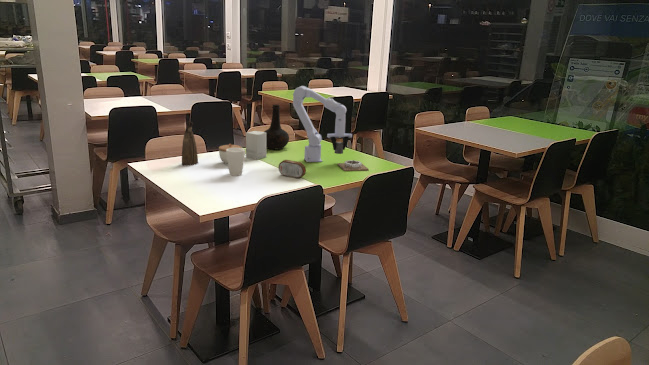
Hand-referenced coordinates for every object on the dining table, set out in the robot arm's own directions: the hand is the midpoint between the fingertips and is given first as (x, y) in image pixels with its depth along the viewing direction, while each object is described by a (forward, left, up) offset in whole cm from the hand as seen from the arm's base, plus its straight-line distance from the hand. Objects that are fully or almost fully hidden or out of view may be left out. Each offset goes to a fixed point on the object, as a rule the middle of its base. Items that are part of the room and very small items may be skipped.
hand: (338, 149), depth 281 cm
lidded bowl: (-62, +5, -8) cm, 63 cm away
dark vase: (-31, +40, -8) cm, 51 cm away
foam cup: (-61, -18, -8) cm, 64 cm away
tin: (-33, -26, -8) cm, 43 cm away
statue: (-84, +5, -8) cm, 84 cm away
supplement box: (-46, +17, -8) cm, 50 cm away
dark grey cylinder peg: (0, 0, -2) cm, 2 cm away
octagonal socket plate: (+5, -12, -8) cm, 15 cm away
